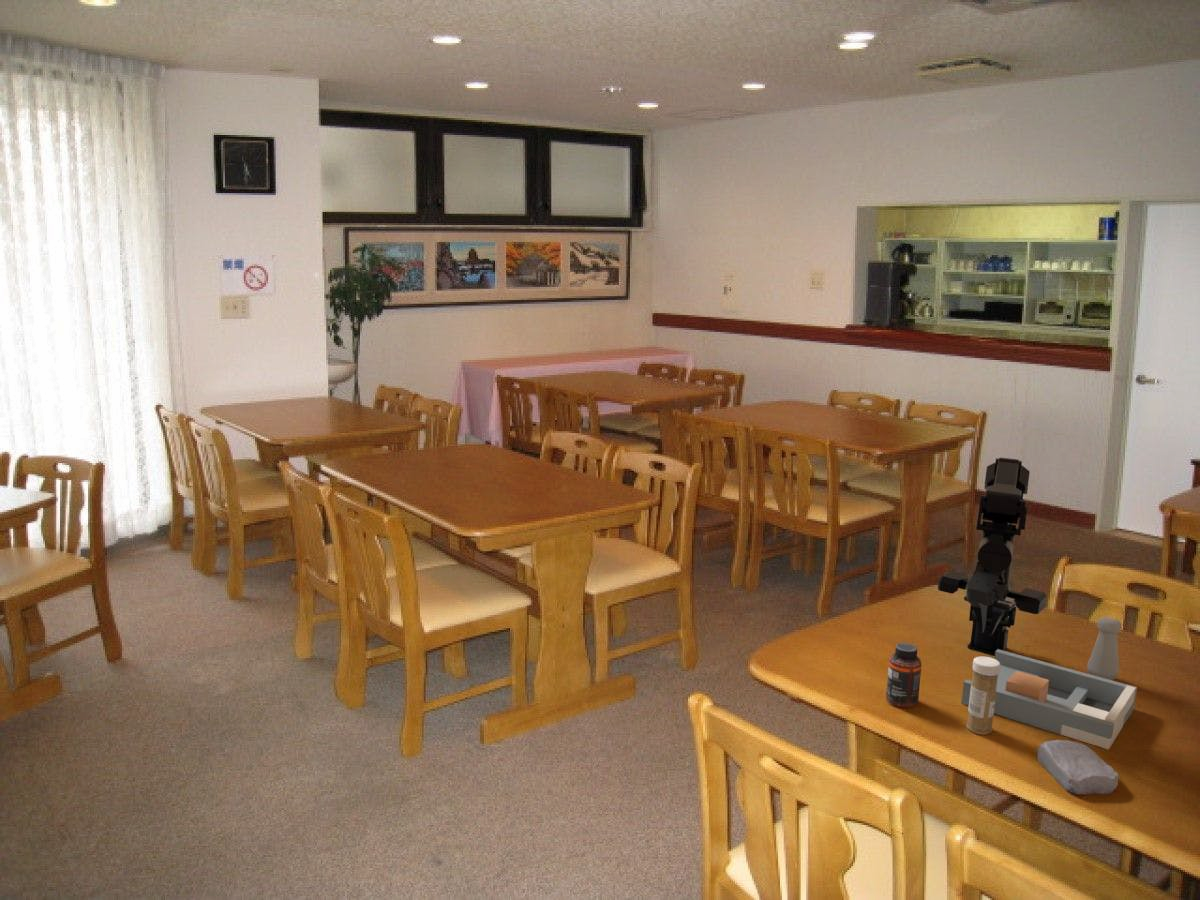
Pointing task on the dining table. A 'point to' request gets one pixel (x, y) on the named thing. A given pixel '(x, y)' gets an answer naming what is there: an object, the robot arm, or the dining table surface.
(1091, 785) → the stone block
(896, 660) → the supplement bottle
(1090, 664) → the salt shaker
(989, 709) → the sprinkles bottle
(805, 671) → the dining table surface
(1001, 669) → the box
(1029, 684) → the terracotta block
